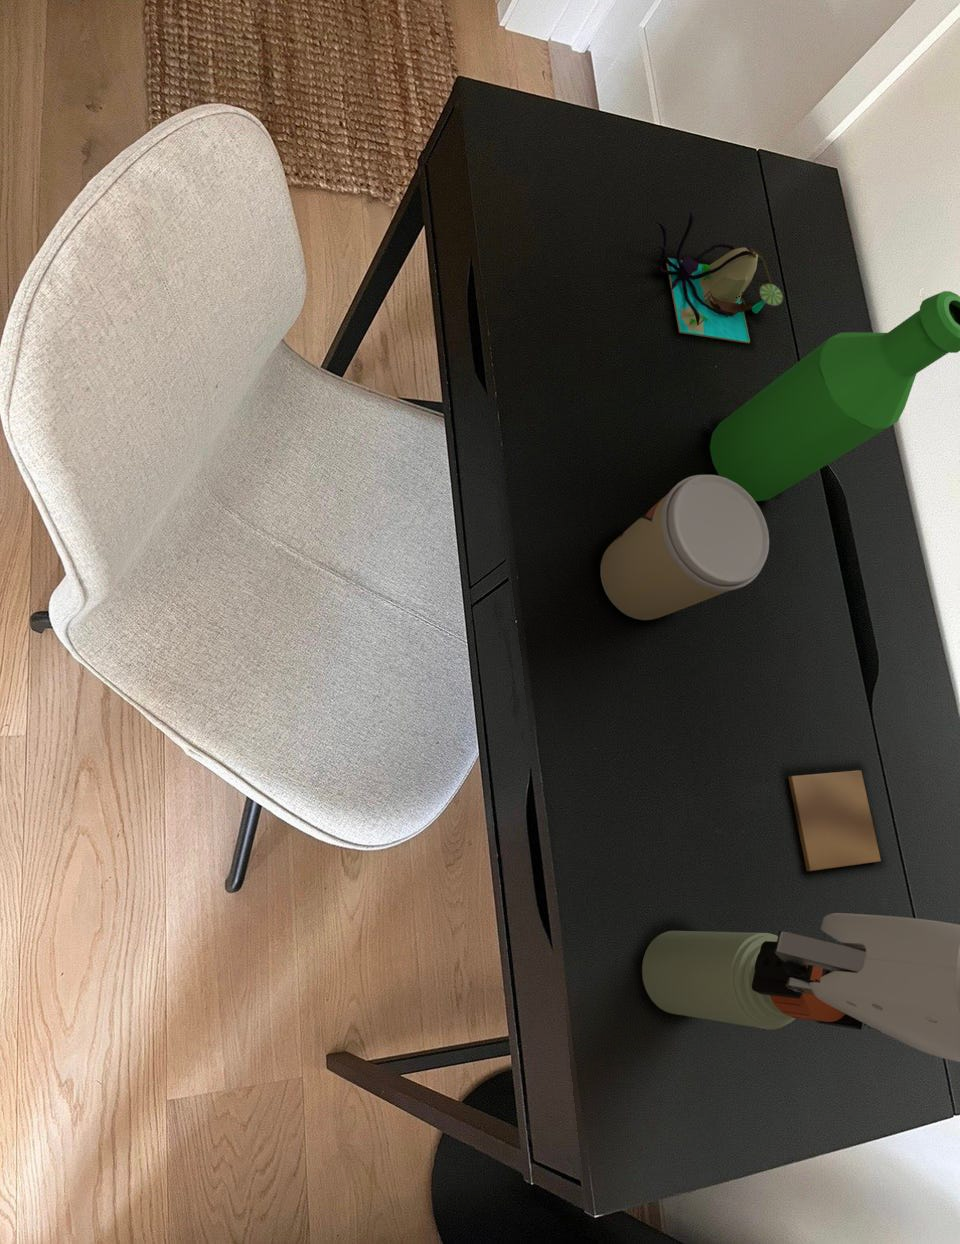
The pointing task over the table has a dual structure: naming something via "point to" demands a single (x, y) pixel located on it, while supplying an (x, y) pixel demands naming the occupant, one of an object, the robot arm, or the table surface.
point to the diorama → (715, 291)
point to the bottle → (831, 400)
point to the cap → (808, 1005)
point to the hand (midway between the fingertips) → (790, 982)
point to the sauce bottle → (710, 977)
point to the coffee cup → (686, 549)
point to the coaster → (834, 820)
